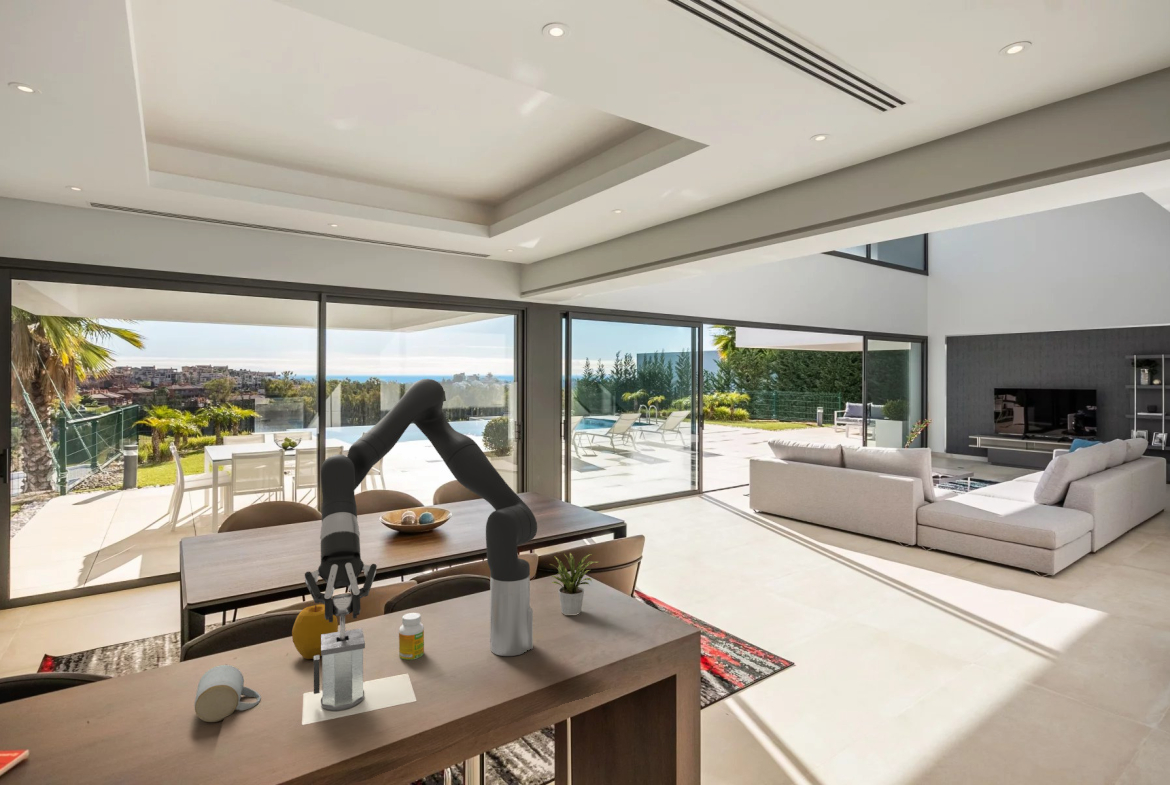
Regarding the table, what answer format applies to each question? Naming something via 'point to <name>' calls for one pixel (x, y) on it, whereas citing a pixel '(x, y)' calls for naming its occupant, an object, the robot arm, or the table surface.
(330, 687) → the press
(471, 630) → the table surface
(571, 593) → the house plant
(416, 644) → the supplement bottle
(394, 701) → the plate
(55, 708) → the table surface
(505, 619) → the robot arm
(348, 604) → the plunger
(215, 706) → the ceramic mug
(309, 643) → the apple
